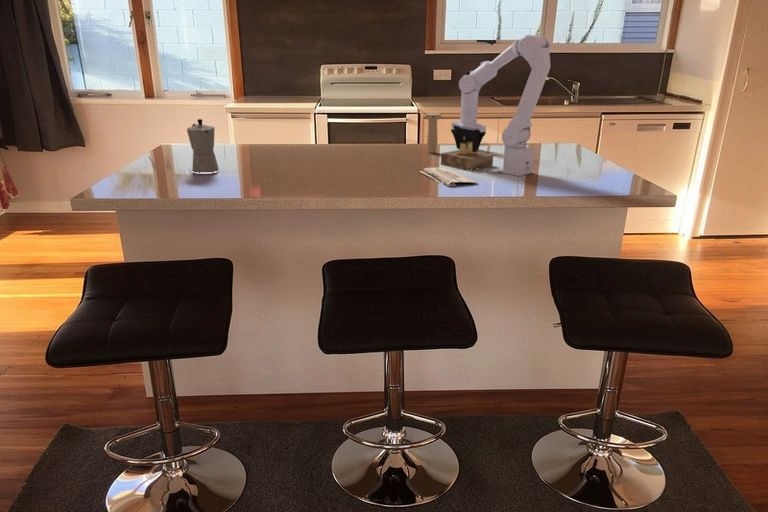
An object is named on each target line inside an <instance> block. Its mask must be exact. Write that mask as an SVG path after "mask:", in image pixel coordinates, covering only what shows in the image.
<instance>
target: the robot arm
mask: <svg viewBox="0 0 768 512" xmlns="http://www.w3.org/2000/svg"><path fill="white" fill-rule="evenodd" d="M550 49H551V44H550V43H549V41H548V39H547V37H546V36H545V35H543V34H536V35H533V34H532V35H531V34H525V35H523V36H521V37H520V38H519V39H516V40H515V41H514V42H513V43H512V44H511V45H510V46H508V47H507V48H506V49H505V50H504V51H503V52H502V53H500V54H498V56H496V57H495V58H494V59H493V60H492V61H490V60H486V61H482V62H480V63H479V66H477V68H476V69H474V70H471V71H469V72H470V75H466V74H465V75H462V77H461V78H460V79H459V81H458V88H459V90H460V91H461V94H460V95H461V98H460V101H461V103H460V118H461V120H459V121H451V129H450V132H451V134H452V136H453V139H454V141H455V147H456V150H460V143H463V137H464V133H465V130H466V129H468V130H474V132H471V136H472V151H473V152H479V149H480V146H481V144H482V143H481V142H482V140H483V139H484V137H485V135H486V134H487V133H486V132H487V125H482V124H479V123H478V109H479V108H478V105H479V101H478V100H479V95H480V94H479V93H480V90H481V89H482V87H483V86H484V85H485V84H486V83H488V82H489V81H491V80H492V79H494V78H495V77H496V76H497V74H498V70H499V69H501V68H502V67H503V66H506V65H507V64H508V63H510V62H511V61H513V60H514V59H516V58H517V57H523V58H524V60H525V61H527V63H528V64H529V66H530V69H531V71H530V73H529V76H528V79H527V81H526V84H525V87H524V89H523V91H522V95H521V98H520V100H519V103H518V106H517V108H516V112H515V114H514V116H513V117H512V119H511V120H510V121H509V122H508V125H507V126H506V128H505V129H504V130H503V132H502V133H501V139H502V142H503V145H504V149H503V150H504V151H503V164H502V165H503V166H502V168H500V169H497V170H496V171H497V172H498V173H499V172H500V173H504V174H509V175H513V176H517V177H522V176H525V175H529V174H533V173H534V170H533V166H534V151H533V149H532V148H528V146H527V142H528V141H529V140H530V138H531V134H532V133H531V127H532V125H533V123H532V121H531V119H532V117H533V114H534V111H535V108H536V107H537V103H538V101H539V100H540V99H539V98H540V96H541V94H542V90H543V88H544V86H545V82H546V80H547V77H548V75H549V72H550V70H551V56H550V55H551V54H550Z"/></svg>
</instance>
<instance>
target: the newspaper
mask: <svg viewBox="0 0 768 512" xmlns="http://www.w3.org/2000/svg"><path fill="white" fill-rule="evenodd" d="M419 172H420V173H421V174H423V175H425V176H427V177H429V178H430V179H432V180H434V181H435V182H437V183H438V182H439V183H438V184H440V183H441V182H443V183H444V184H445V186H447V187H457V186H456V185H454V184H453V183H469V184H470V183H471V184H475V183H476V184H475V185H478V184H479V183H478V182H477V181H475V180H473V179H471V178H469V177H467V176H466V175H463V174H462V175H461V173H459V172H458V171H456V170H454V169H452V168H449V167H426V168H423V171H422V170H421V171H420V170H419ZM429 174H430V175H429ZM434 177H435V178H434ZM436 178H437V179H438V180H437V179H436ZM452 182H453V183H452ZM443 183H442V184H441V185H443ZM477 183H478V184H477Z"/></svg>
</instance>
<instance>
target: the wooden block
mask: <svg viewBox="0 0 768 512" xmlns="http://www.w3.org/2000/svg"><path fill="white" fill-rule="evenodd" d="M459 150H460V155H462V156H469V155H474V152H473V151H472V142H464V143H460V149H459Z"/></svg>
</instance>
